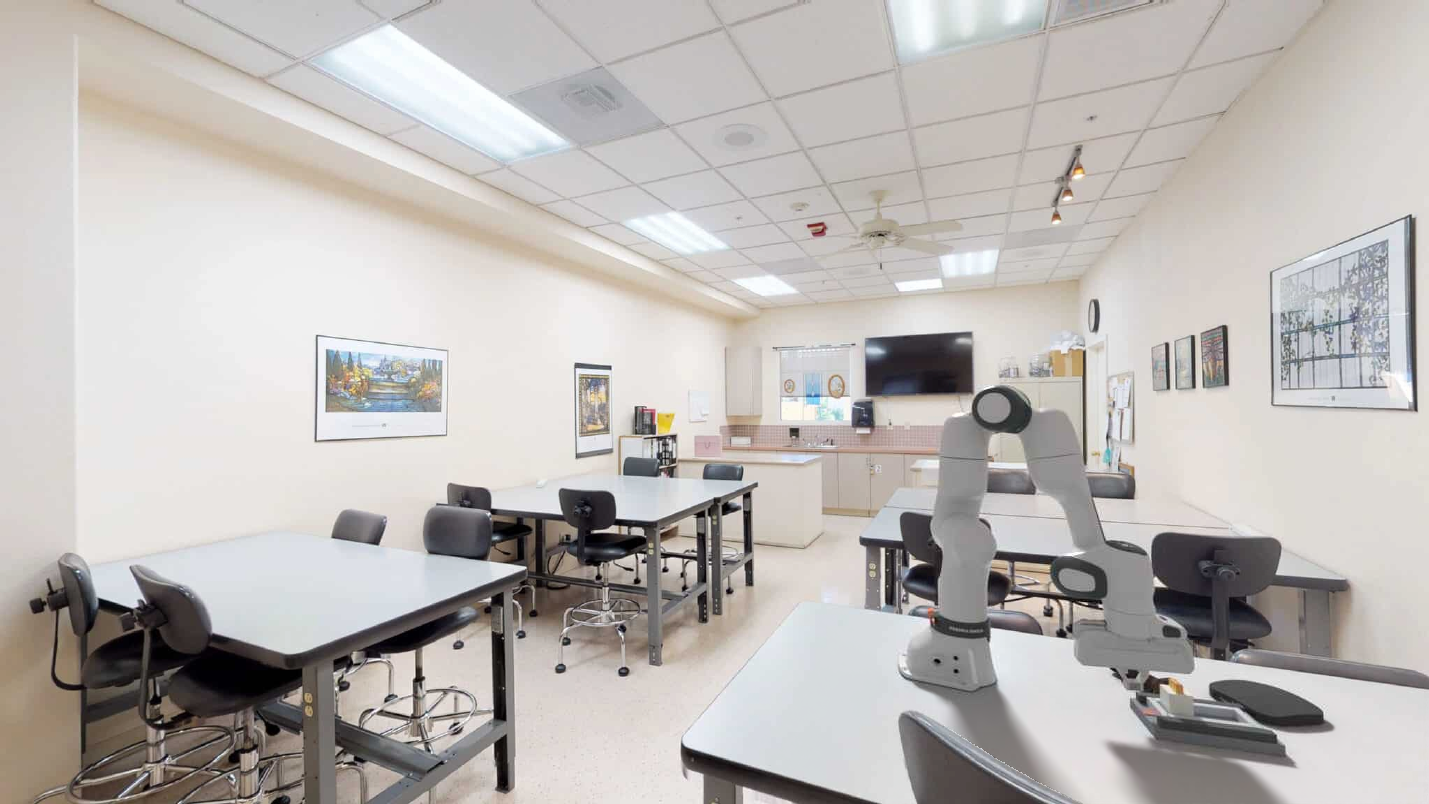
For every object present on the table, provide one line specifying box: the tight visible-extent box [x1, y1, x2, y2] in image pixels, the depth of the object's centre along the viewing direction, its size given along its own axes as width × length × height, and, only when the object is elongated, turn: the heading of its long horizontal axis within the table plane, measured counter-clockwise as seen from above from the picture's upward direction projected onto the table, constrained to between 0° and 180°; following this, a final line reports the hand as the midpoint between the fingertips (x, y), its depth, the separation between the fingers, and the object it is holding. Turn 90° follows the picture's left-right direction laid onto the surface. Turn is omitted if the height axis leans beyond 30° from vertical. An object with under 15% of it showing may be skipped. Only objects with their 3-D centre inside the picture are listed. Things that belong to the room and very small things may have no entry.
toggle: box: [1160, 677, 1194, 717], centre depth 111 cm, size 4×4×7 cm
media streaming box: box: [1208, 679, 1325, 728], centre depth 118 cm, size 15×15×3 cm
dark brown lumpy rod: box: [1109, 668, 1173, 694], centre depth 128 cm, size 6×5×15 cm
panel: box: [1129, 691, 1287, 757], centre depth 110 cm, size 20×12×4 cm, turn 72°
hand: (1133, 689), depth 114 cm, fingers closed
